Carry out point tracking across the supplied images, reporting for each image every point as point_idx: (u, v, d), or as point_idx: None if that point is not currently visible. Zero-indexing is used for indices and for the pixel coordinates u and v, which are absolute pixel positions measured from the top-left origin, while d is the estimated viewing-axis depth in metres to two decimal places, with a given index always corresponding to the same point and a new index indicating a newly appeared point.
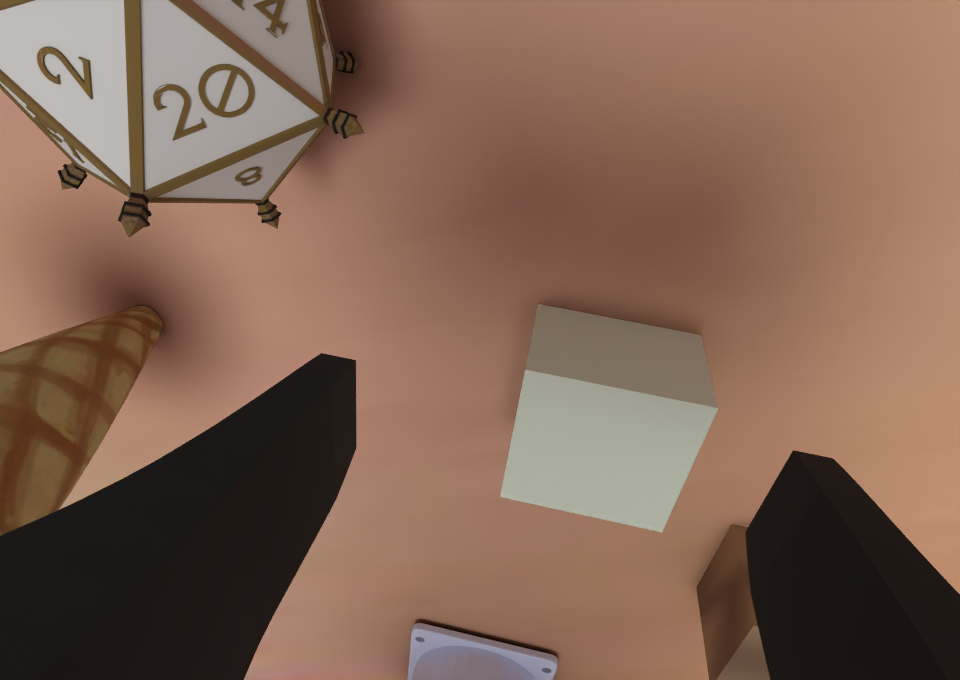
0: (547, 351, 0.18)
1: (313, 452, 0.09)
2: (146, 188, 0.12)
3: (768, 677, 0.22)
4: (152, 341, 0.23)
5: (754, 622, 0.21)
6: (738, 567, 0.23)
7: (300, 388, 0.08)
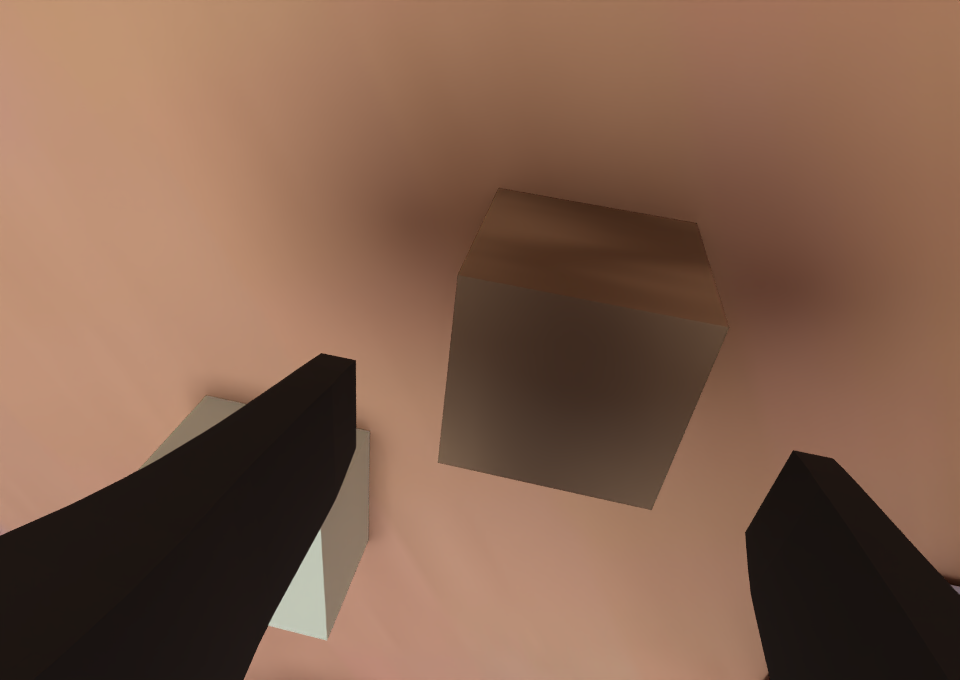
0: None
1: (313, 452, 0.09)
2: None
3: (590, 436, 0.11)
4: None
5: (439, 456, 0.13)
6: None
7: (300, 388, 0.08)
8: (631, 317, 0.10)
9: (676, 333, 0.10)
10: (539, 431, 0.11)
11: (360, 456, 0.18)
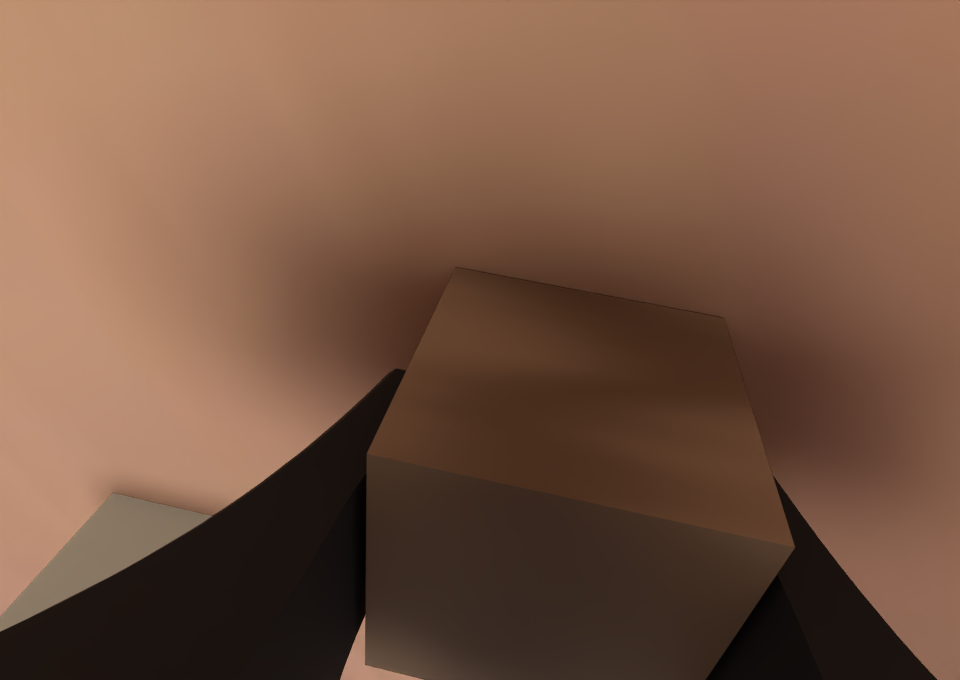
0: None
1: None
2: None
3: (576, 655, 0.08)
4: None
5: (367, 655, 0.09)
6: None
7: (385, 406, 0.08)
8: (637, 524, 0.06)
9: (709, 549, 0.06)
10: (503, 644, 0.08)
11: None
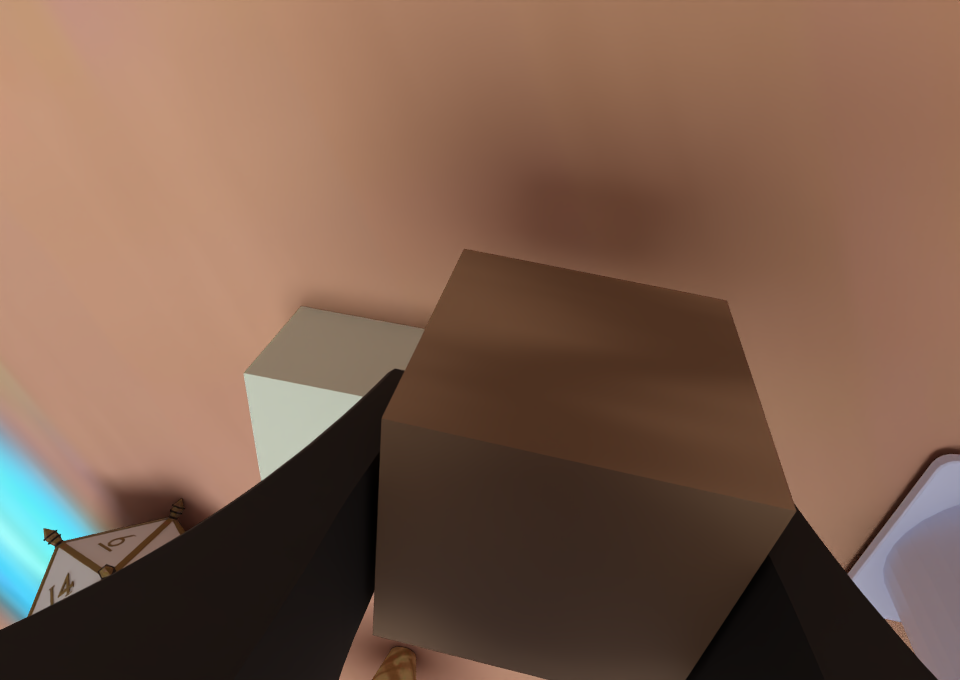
0: None
1: None
2: None
3: (581, 623, 0.08)
4: (399, 665, 0.30)
5: (375, 625, 0.09)
6: None
7: (384, 406, 0.08)
8: (644, 488, 0.06)
9: (713, 513, 0.06)
10: (509, 612, 0.08)
11: None
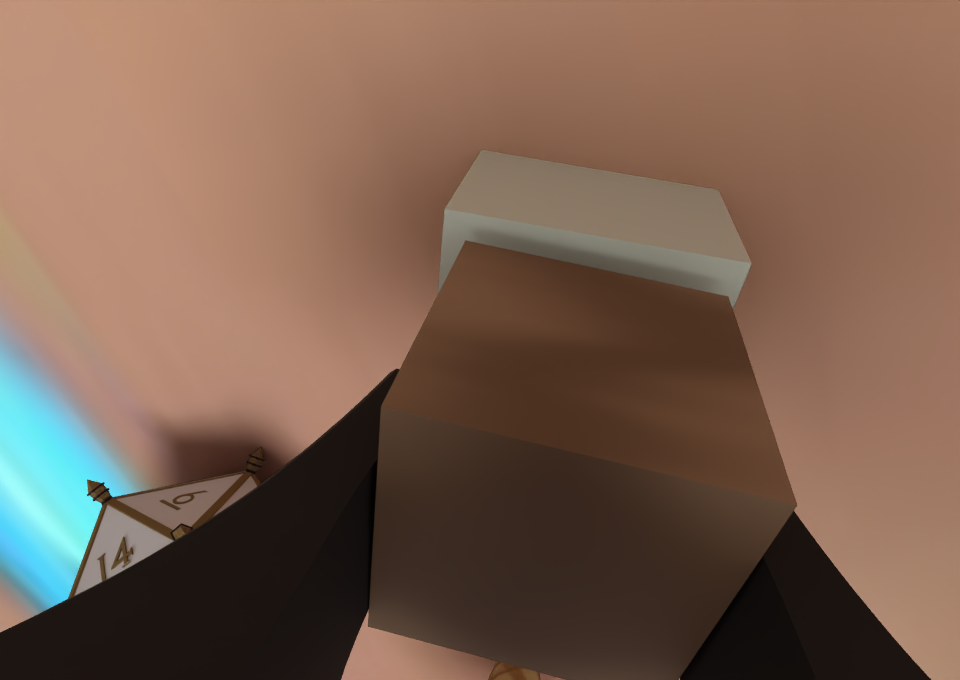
0: None
1: None
2: None
3: (578, 616, 0.08)
4: None
5: (370, 617, 0.09)
6: None
7: None
8: (644, 479, 0.06)
9: (714, 507, 0.06)
10: (506, 604, 0.08)
11: None
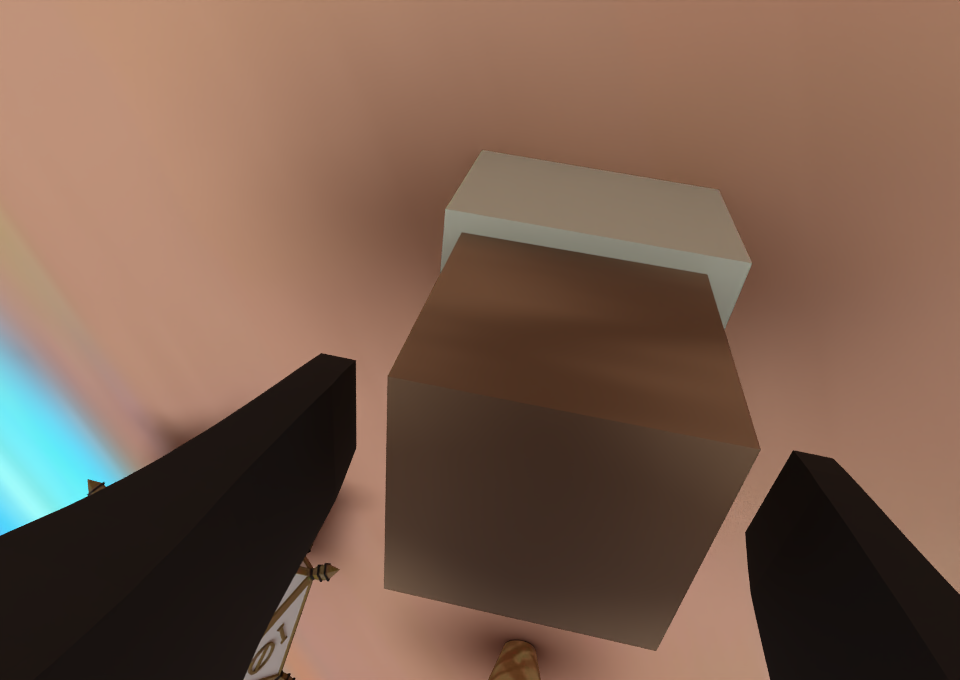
0: None
1: (313, 452, 0.09)
2: None
3: (574, 568, 0.09)
4: (522, 664, 0.24)
5: (386, 580, 0.10)
6: None
7: (300, 388, 0.08)
8: (624, 433, 0.07)
9: (687, 454, 0.07)
10: (509, 560, 0.09)
11: None
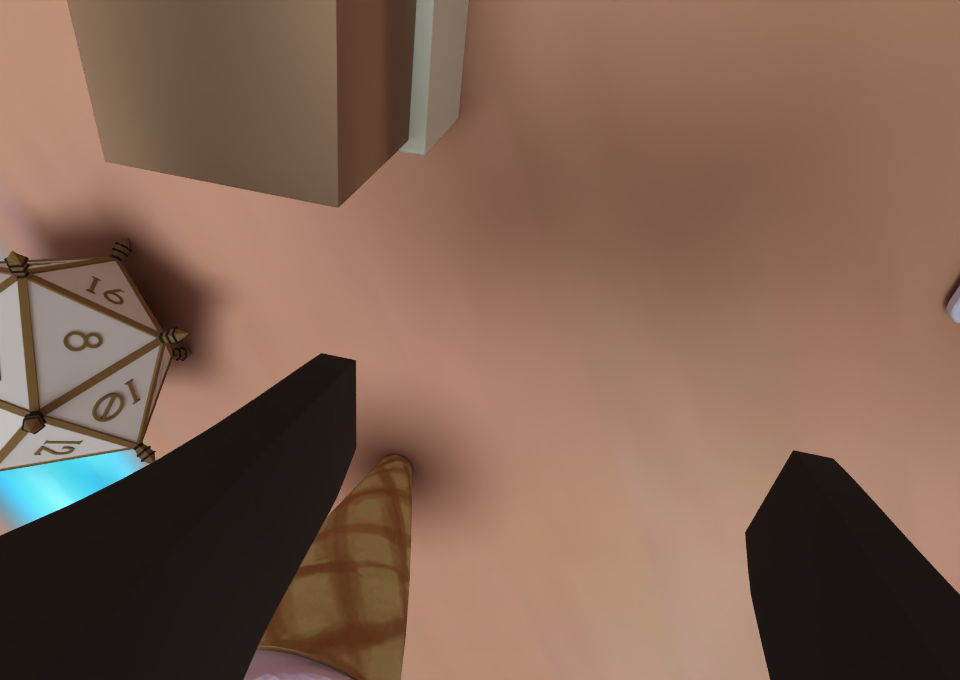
0: None
1: (313, 452, 0.09)
2: (28, 408, 0.17)
3: (243, 97, 0.10)
4: (391, 469, 0.25)
5: (109, 157, 0.11)
6: None
7: (300, 388, 0.08)
8: None
9: None
10: (190, 97, 0.10)
11: None
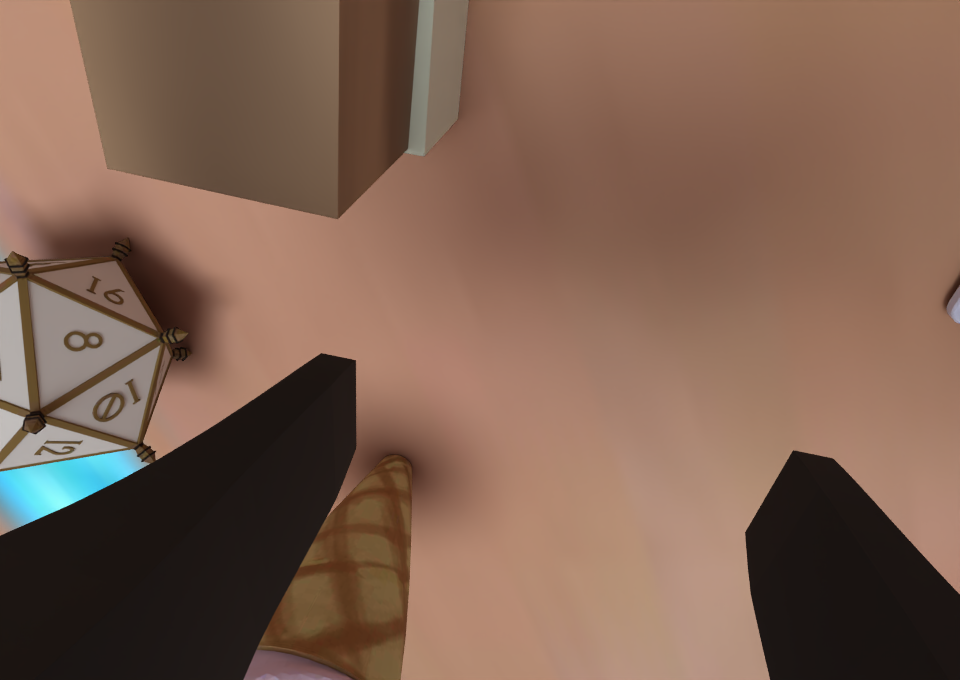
0: None
1: (313, 452, 0.09)
2: (28, 408, 0.17)
3: (245, 110, 0.10)
4: (391, 469, 0.25)
5: (110, 163, 0.11)
6: None
7: (300, 388, 0.08)
8: None
9: None
10: (194, 108, 0.10)
11: None
